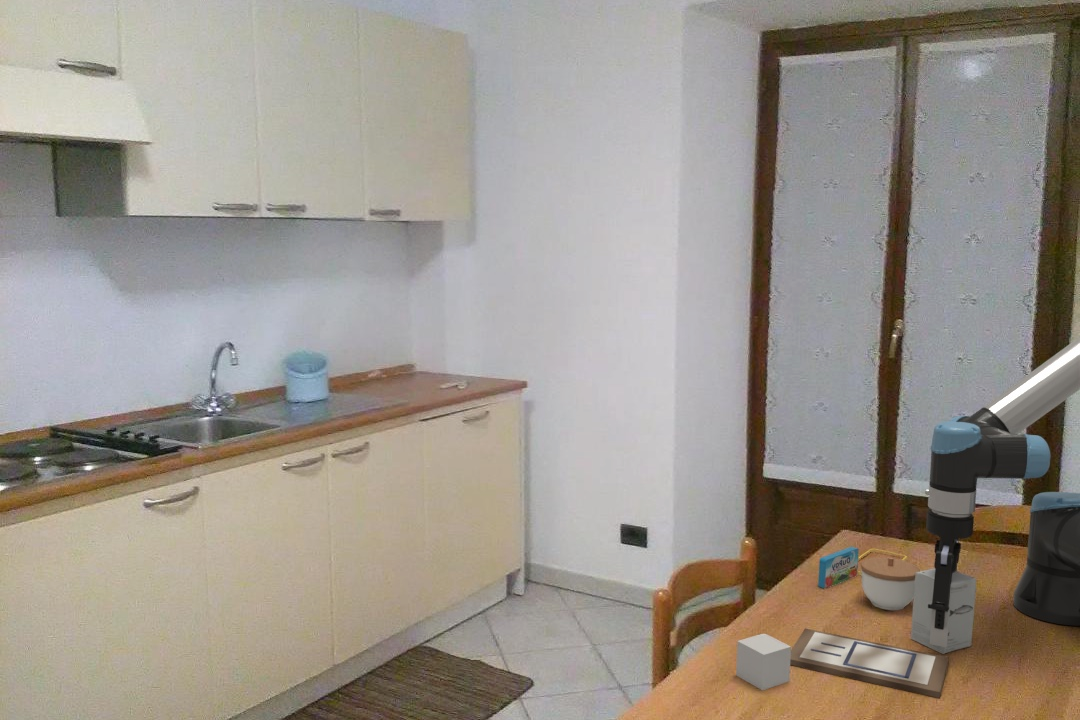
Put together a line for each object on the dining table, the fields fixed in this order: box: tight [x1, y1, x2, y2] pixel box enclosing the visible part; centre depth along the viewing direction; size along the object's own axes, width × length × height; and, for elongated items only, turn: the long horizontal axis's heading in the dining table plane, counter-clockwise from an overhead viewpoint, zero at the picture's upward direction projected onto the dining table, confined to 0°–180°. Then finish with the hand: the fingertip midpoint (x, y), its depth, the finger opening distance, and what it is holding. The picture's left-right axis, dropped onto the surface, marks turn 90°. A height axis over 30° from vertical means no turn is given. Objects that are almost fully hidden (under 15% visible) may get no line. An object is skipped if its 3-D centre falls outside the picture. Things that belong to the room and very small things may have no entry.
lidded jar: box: [860, 556, 921, 611], centre depth 188 cm, size 11×11×9 cm
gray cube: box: [735, 632, 792, 691], centre depth 156 cm, size 6×6×6 cm
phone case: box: [857, 548, 908, 576], centre depth 210 cm, size 8×17×1 cm, turn 141°
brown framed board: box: [790, 627, 950, 699], centre depth 162 cm, size 24×14×1 cm, turn 62°
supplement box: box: [910, 567, 978, 655], centre depth 170 cm, size 7×7×13 cm
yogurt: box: [817, 546, 860, 589], centre depth 200 cm, size 12×2×6 cm, turn 130°
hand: (941, 633), depth 171 cm, fingers closed on supplement box, 10 cm apart
